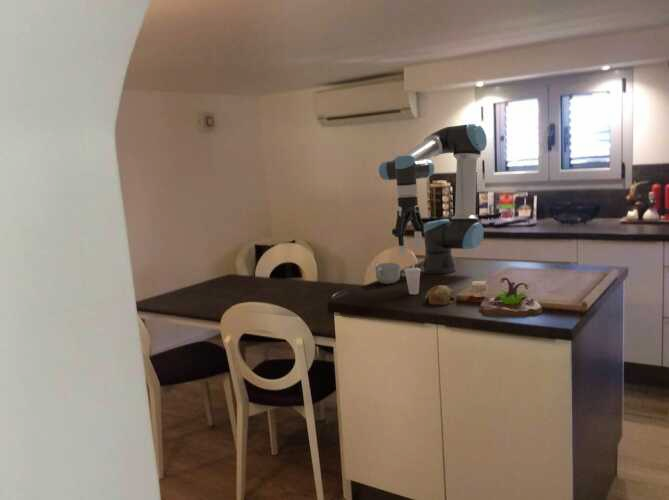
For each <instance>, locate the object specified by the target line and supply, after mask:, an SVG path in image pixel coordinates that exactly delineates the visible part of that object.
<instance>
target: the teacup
mask: <svg viewBox="0 0 669 500" xmlns="http://www.w3.org/2000/svg"><path fill="white" fill-rule="evenodd" d="M374 267H375V278H376V280H377V281H378V282H380V283H381V284H385V285H388V284H389V285H390V284H391V283H392V284H395V283H397V281H399V280H400V279H401V278H400V277H401V264H400V263H396V262H379V263H376V264H375V265H374Z"/></svg>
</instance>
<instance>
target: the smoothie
mask: <svg viewBox="0 0 669 500" xmlns="http://www.w3.org/2000/svg"><path fill="white" fill-rule="evenodd" d="M411 261H412V267H407V268H405V269H404V274H405V278H406V284H407V288H408V294H410V295H418V294H419V292H420V277H421V268H420V267H415V259H414V257H412V260H411Z"/></svg>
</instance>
